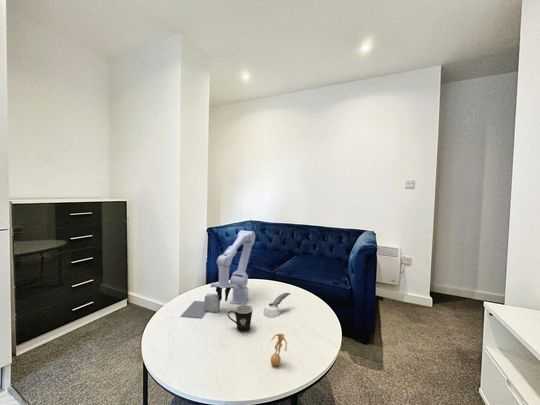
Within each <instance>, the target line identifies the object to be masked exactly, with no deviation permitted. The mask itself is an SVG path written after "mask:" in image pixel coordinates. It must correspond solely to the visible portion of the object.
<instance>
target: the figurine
mask: <svg viewBox="0 0 540 405" xmlns="http://www.w3.org/2000/svg"><path fill="white" fill-rule="evenodd" d="M276 337H277V340H276V343H275V346H274V350H275V353H272V355H271V357H270V363H271V364H272V365H273V366H274V367H275V366H279V365H280V364H281V361H282V360H281V355H280V353H281V349H282V346H283V343H282V341H284V342H285V348H284V351H287V344H288V341H287V340H286V338H285V334H284V333H282V332H281V333H280V332H279V333H278V334H275V335H274V336H273V337H272V338H271V340H270V341H271V342H272V341H273V339H275V338H276ZM277 352H278V353H277Z"/></svg>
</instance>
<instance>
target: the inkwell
mask: <svg viewBox="0 0 540 405" xmlns="http://www.w3.org/2000/svg"><path fill="white" fill-rule="evenodd" d="M290 295H291V293H290V292H284V293H281V294H279V295H278V296H277V297H276V298H275V299H274V300H273V302H268V303H267V304H266V305H265V306H264V309H263V315H264V316H265V317H267V318H277V317H279V315H280V310H279V305H280V304H281V303H282V302H283V300H284V299H285V300H286V298H287V297H288V296H290Z"/></svg>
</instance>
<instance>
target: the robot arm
mask: <svg viewBox="0 0 540 405" xmlns="http://www.w3.org/2000/svg"><path fill="white" fill-rule="evenodd" d="M255 239H256V233H255V231H253V230H252V231H251V230H243V229H241V230H239V232H238V233H237V238H236V239H235V241H234V242H233V244H232V245H229V246H227V248H226V250H225V251H224V252H223V253H222V254H220V255H219V256H217V259H216V264H217V269H218V282H211V283H210V288H215V292H216V294H218V296H219V301H220V302H221V301H222V300H223V297H222V296H223V293H222V292H223V289H224V296H225V297H224V302H227V301H228V297H229V294H230V291H231V289H232V299H231V301H230V303H231V304H239V305H240V304H241V305H247V302H248V300H249V287H247V285H248V283H249V282H248V281H249V280H248V279H249V275H248V274H247V272H246V270H247V266H248V263H249V260H250V257H251V256H250V255H251V251H252V248H253V246H254V244H255V241H256V240H255ZM241 245H243V248H242V251H241V255H240V258H239V263H238V267H237V269H236V270H235V271H234V272H232V274H231V277H230V266H231V265H232V261H233V258H234V256H235V255H236V254H237V253H238V248H239V247H240V246H241Z"/></svg>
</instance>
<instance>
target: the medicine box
mask: <svg viewBox="0 0 540 405" xmlns="http://www.w3.org/2000/svg"><path fill="white" fill-rule="evenodd" d="M204 302H205V303H204V311H207V312H211V313H219V310H221V301H219V296H218V294H217V293H209V292H207V293H206V294H205V296H204Z"/></svg>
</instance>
